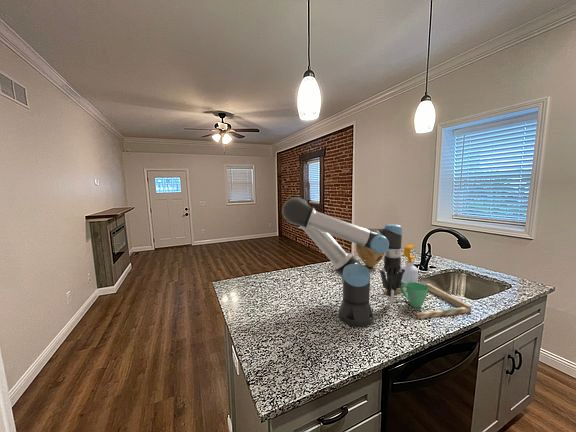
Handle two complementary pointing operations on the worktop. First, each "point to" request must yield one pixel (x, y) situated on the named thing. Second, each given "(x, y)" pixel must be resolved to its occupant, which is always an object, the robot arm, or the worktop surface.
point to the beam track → (447, 311)
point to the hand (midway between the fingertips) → (390, 301)
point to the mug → (414, 293)
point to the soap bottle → (409, 267)
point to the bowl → (368, 255)
